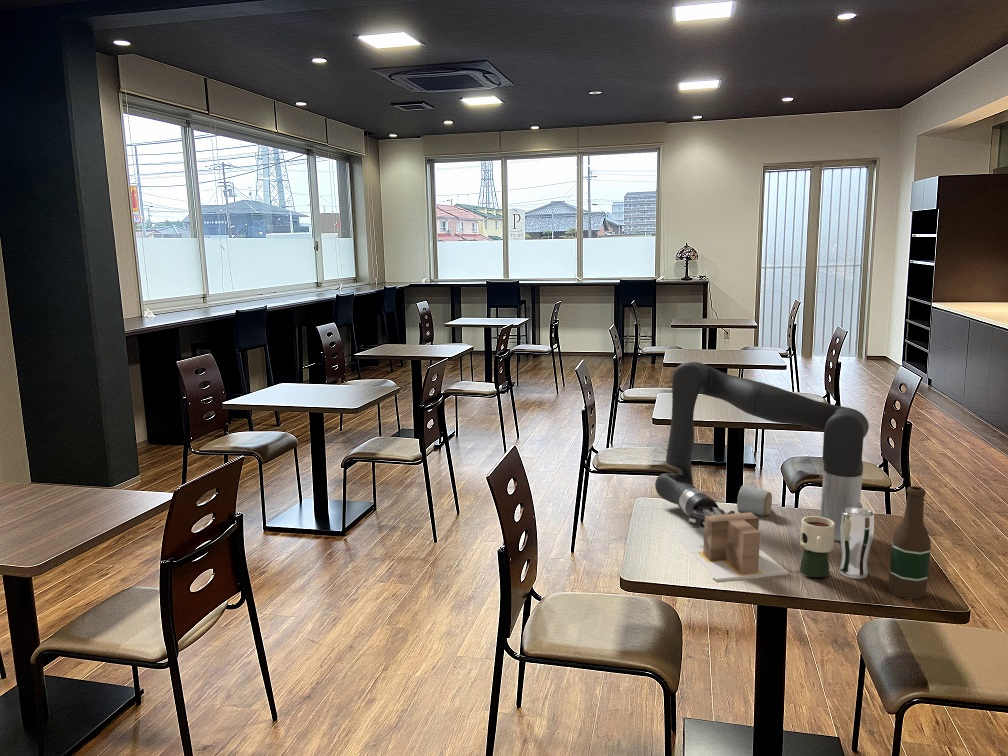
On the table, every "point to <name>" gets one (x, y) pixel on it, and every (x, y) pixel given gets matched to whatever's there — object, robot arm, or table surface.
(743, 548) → the t block
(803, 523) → the character mug
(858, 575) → the beer glass
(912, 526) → the beer bottle
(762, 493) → the grey cylinder
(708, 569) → the board
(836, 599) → the table surface
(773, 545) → the table surface
